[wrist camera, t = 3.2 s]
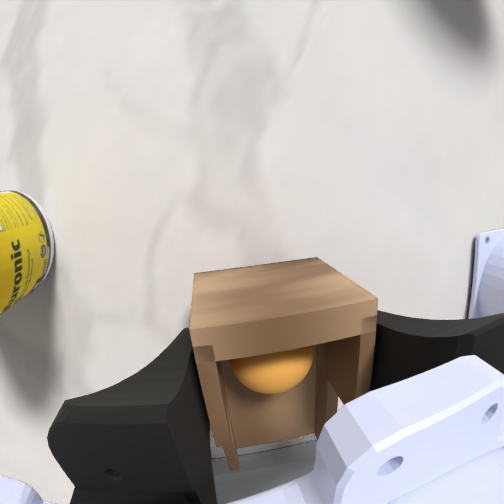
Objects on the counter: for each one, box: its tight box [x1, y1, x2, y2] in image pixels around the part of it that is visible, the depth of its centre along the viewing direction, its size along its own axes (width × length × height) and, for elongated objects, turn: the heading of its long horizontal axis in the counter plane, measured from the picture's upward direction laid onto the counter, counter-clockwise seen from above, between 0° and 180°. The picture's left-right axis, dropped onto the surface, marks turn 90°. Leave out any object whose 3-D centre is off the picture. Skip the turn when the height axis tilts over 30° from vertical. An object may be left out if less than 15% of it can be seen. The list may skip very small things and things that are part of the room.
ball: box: [229, 345, 314, 394], centre depth 11 cm, size 3×3×3 cm
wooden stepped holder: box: [189, 257, 378, 471], centre depth 11 cm, size 5×9×5 cm, turn 6°
